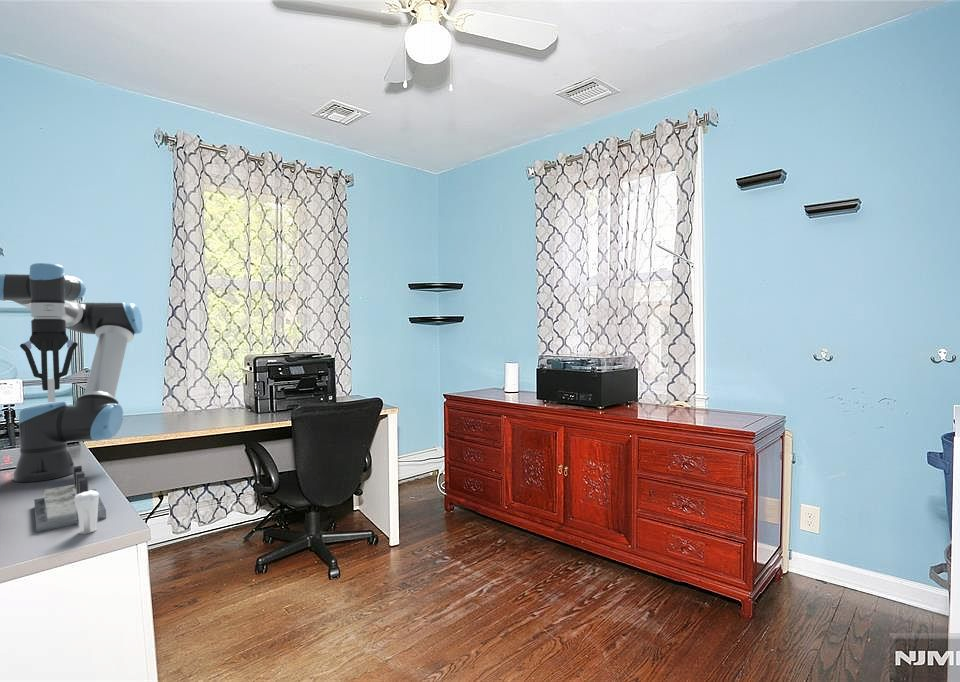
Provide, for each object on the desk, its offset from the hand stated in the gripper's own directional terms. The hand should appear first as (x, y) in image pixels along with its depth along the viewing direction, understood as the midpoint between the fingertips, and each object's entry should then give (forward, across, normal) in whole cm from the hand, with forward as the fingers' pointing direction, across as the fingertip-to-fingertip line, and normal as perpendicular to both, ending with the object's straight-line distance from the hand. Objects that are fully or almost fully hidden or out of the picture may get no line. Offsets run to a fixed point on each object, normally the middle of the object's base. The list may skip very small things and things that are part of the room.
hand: (51, 401), depth 148 cm
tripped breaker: (+22, +4, -23) cm, 32 cm away
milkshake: (+27, +4, -43) cm, 51 cm away
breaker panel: (+26, +2, -23) cm, 35 cm away
